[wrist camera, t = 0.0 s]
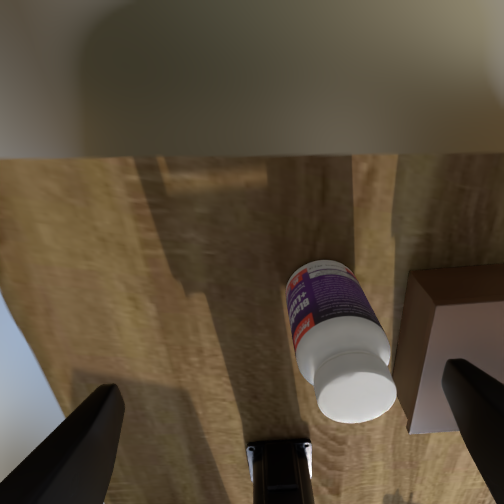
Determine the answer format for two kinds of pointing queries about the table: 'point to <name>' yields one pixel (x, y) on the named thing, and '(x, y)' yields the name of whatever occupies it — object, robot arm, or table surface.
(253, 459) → the robot arm
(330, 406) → the pill bottle
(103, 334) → the table surface
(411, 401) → the cabinet
